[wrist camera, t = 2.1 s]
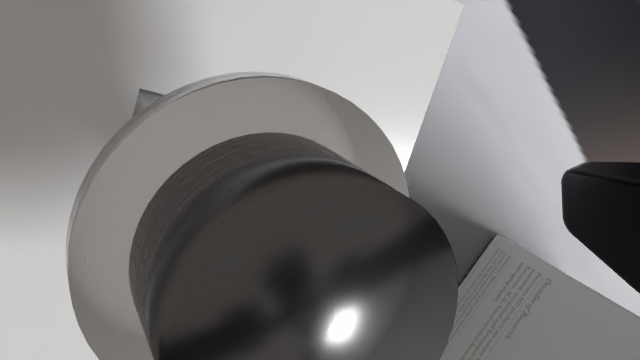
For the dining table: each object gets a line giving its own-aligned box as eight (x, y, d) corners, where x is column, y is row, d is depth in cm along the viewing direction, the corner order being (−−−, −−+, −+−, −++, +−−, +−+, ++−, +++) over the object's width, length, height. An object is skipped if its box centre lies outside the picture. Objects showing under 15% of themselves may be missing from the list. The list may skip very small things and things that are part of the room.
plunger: (280, 323, 17) (458, 566, 10) (-63, 298, 13) (-143, 673, 6) (376, 34, 16) (661, 95, 9) (21, -98, 12) (35, -174, 5)
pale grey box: (258, 298, 22) (326, 392, 17) (-261, 249, 15) (-384, 384, 10) (357, -8, 20) (464, 4, 15) (-193, -229, 13) (-309, -335, 8)
